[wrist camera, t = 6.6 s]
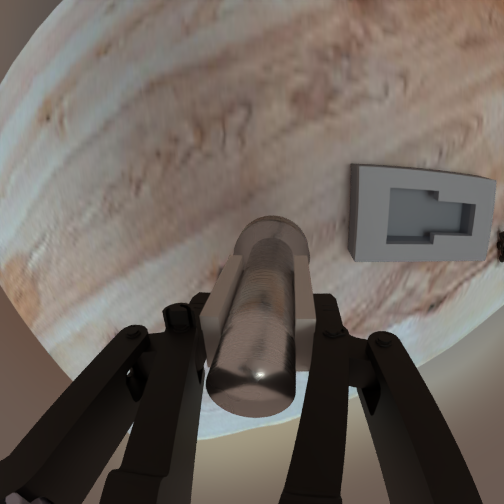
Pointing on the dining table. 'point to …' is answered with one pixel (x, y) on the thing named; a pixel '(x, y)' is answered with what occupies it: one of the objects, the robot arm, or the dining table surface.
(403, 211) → the keyhole board
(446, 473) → the robot arm
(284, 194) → the dining table surface
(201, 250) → the dining table surface
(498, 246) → the valve
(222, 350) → the flanged metal peg
